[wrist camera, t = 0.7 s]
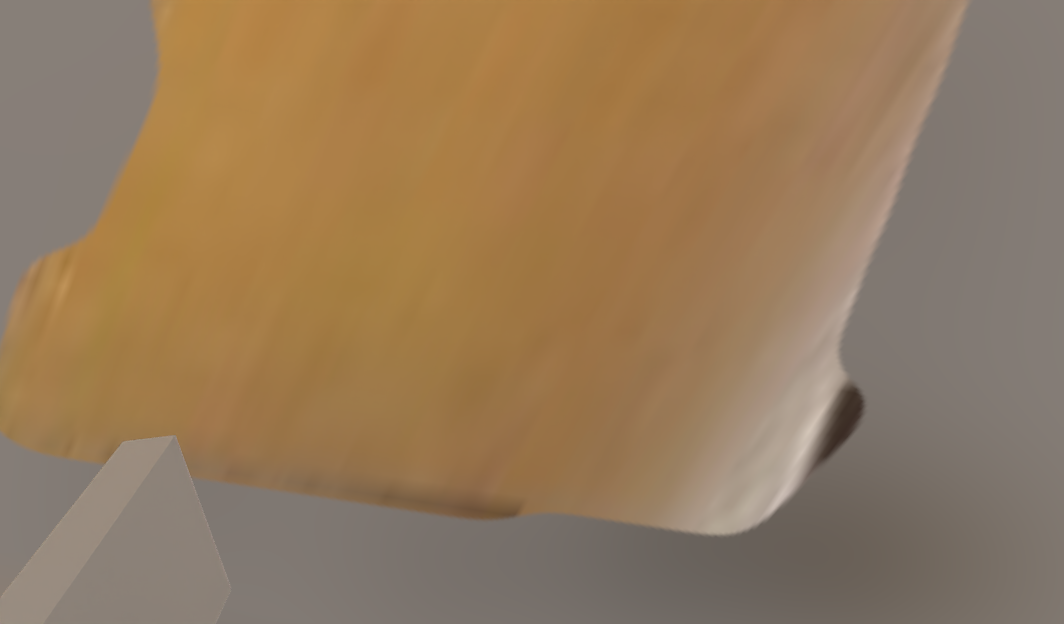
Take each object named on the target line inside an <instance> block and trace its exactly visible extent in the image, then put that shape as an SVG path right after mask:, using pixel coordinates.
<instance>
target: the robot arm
mask: <svg viewBox="0 0 1064 624" xmlns="http://www.w3.org/2000/svg"><path fill="white" fill-rule="evenodd" d="M230 591H231V586H230V583H229V581H228V578H227V575H226V573H225V570H224V567H223V564H222V562H221V559H220V556H219V554H218V551H217V548H216V545H215V542H214V540H213V537H212V534H211V532H210V529H209V526H208V523H207V521H206V518H205V515H204V512H203V510H202V507H201V504H200V501H199V499H198V496H197V493H196V491H195V488H194V485H193V482H192V479H191V477H190V474H189V471H188V468H187V466H186V463H185V460H184V458H183V455H182V452H181V449H180V447H179V444H178V441H177V438H176V436H175V435H173V436H164V437H156V438H148V439H140V440H131V441H123V442H122V443H121V445H120V446H119V447H118V449H117V450H116V451H115V452H114V454H113V455H112V456H111V457H110V459H109V460H108V461H107V462H106V464H105V465H104V466H103V468H102V469H101V470H100V471H99V473H98V474H97V475H96V477H95V478H94V479H93V480H92V482H91V483H90V484H89V485H88V487H87V488H86V489H85V491H84V492H83V493H82V494H81V495H80V497H79V498H78V499H77V501H76V502H75V503H74V504H73V506H72V507H71V508H70V510H69V511H68V512H67V513H66V515H65V516H64V517H63V518H62V520H61V521H60V522H59V523H58V525H57V526H56V527H55V529H54V530H53V531H52V532H51V534H50V535H49V536H48V537H47V539H46V540H45V541H44V543H43V544H42V545H41V546H40V548H39V549H38V550H37V551H36V553H35V554H34V555H33V557H32V558H31V559H30V560H29V561H28V563H27V564H26V565H25V567H24V568H23V569H22V570H21V572H20V573H19V574H18V576H17V577H16V578H15V579H14V581H13V582H12V583H11V584H10V586H9V587H8V588H7V589H6V591H5V592H4V593H3V594H2V596H1V597H0V624H216V621H217V619H218V617H219V615H220V613H221V610H222V608H223V606H224V604H225V602H226V600H227V598H228V596H229V593H230Z"/></svg>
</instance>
